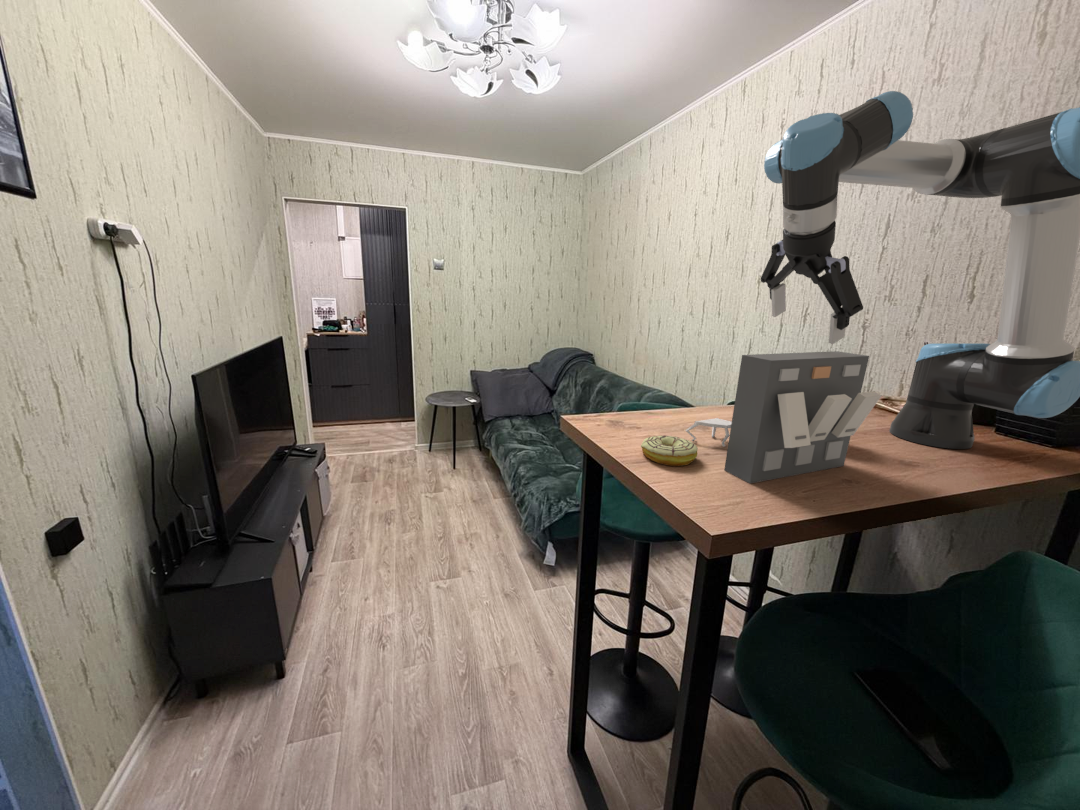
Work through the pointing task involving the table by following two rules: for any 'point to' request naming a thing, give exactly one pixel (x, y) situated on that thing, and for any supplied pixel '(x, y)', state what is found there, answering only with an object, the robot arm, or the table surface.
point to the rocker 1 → (794, 420)
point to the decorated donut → (669, 450)
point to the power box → (758, 413)
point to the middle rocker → (827, 416)
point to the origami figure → (715, 424)
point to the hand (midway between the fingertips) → (805, 326)
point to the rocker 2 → (856, 414)
